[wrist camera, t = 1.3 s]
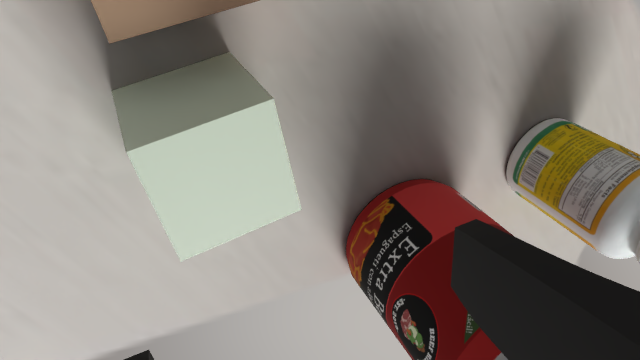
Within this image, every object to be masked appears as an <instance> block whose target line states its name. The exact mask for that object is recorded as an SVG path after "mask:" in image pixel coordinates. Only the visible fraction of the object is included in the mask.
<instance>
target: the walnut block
mask: <svg viewBox="0 0 640 360" xmlns="http://www.w3.org/2000/svg"><path fill="white" fill-rule="evenodd" d="M256 1H259V0H91V2H92V4H93V6H94V9H95V11H96V13H97V16H98V18H99V20H100V23H101V25H102V27H103V30H104V32H105V34H106V37H107V39H108V41H109V44H110V43H113V42H117V41H120V40H124V39H127V38H131V37H134V36H138V35H141V34H145V33H148V32H152V31H155V30H159V29H162V28H166V27H169V26H173V25H176V24H179V23H183V22H186V21H190V20H193V19H197V18H200V17H204V16H207V15H211V14H214V13H218V12H221V11H225V10H228V9H232V8H235V7H239V6H242V5H246V4H249V3H253V2H256Z"/></svg>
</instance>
